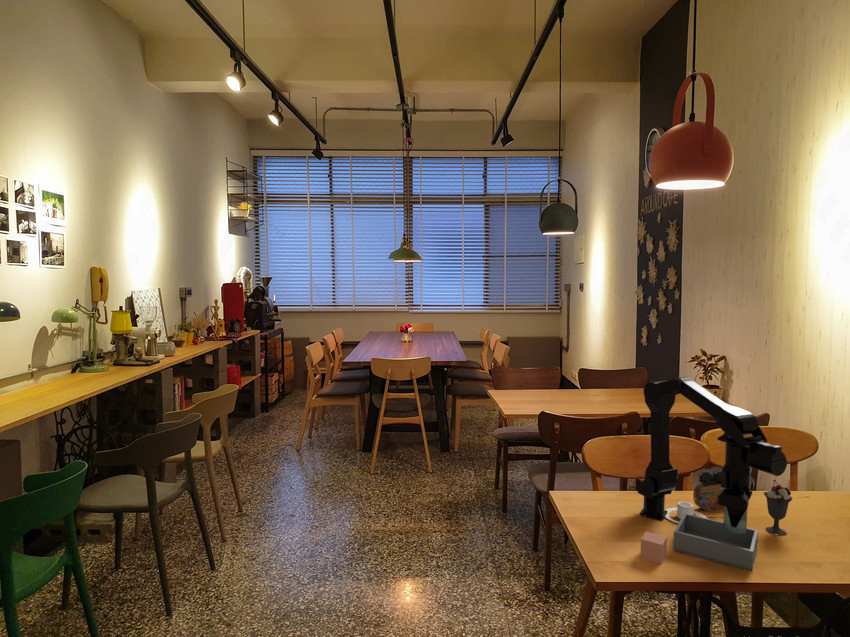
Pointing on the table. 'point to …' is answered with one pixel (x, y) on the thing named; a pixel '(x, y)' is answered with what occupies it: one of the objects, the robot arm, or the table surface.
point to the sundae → (777, 506)
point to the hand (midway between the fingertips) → (735, 523)
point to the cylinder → (740, 527)
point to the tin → (707, 496)
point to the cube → (653, 547)
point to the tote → (715, 542)
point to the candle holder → (683, 511)
